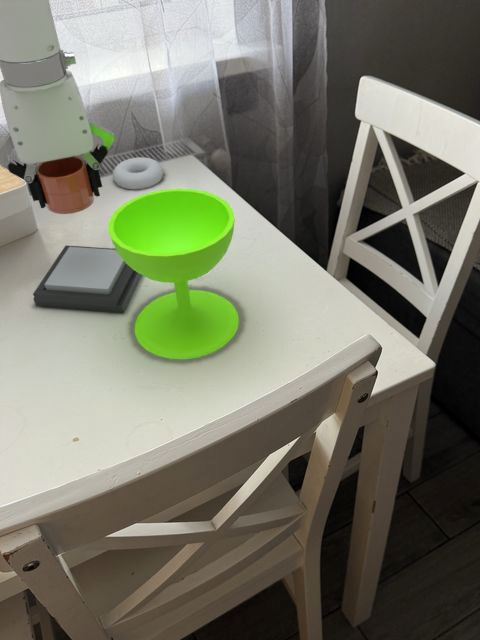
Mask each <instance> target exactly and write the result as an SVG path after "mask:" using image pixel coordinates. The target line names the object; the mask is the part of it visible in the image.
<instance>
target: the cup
mask: <svg viewBox="0 0 480 640" xmlns="http://www.w3.org/2000/svg"><path fill="white" fill-rule="evenodd" d="M86 164H87V162H86V161H85V160H84V159H83V158H82V157H81V156H74V157H69V158H64V159H59V160H54V161H48V162H43V163H38V164H37V167H36V171H35V174H36V176H37V179H38V182H39V185H40V188H41V191H42V195H43V198H44V201H45V204H46V208H47V210H48V211H50V212H51V213H54V214H58V215H70V214H77V213H80V212H82V211H84V210H86V209H88V208H89V207H91V206H92V205H93V203H94V202H95V195H94V193H93V190H92V186H91V182H90V178H89V173H88V169H87V165H86Z"/></svg>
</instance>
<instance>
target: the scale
mask: <svg viewBox="0 0 480 640" xmlns="http://www.w3.org/2000/svg"><path fill="white" fill-rule="evenodd" d="M69 247H80V248H95V249H111V250H116V249H115V248H113V247H112V248H109V247H97V246H96V247H95V246H94V247H93V246H80V245H64V247H63V248H62V250H61V252H60V253H59V254H58V256H57V257H56V259H55V260H54V261H53V263H52V265H51V266H50V268H49V269H48V270H47V272H46V274H45V275H44V277H43V278H42V280H41V282H40V283H39V284H38V286H37V287H36V288H35V290H34V291H33V293H32V296H33V298H32V299H33V303H34V304H35V307H38V308H39V307H42V308H54V309H66V310H79V311H90V312H91V311H92V312H103V313H116V314H117V313H118V314H124V313H125V311H126V310H127V307H128V305H129V304H130V301H131V299H132V297H133V295H134V292H135V291H136V289H137V286H138V284H139V282H140V280H141V278H142V276H143V275H141V274H139V273H138V272H136V271H134V270H133V269H132V268H131V267H130V266H129V265H127V264H126V266H125V268H124V270H123V272H122V274H121V276H120V277H119V279H118V281H117V283H116V285H115V287H114V289H113V291H112V293H111V295H106V294H93V293H79V292H66V291H52V290H46V287H45V283H46V281H47V280H48V278H49V277H50V275H51V274H52V272H53V271H54V269H55V268H56V266H57V265H58V263H59V262H60V260H61V259H62V257H63V256H64V254H65V253H66V251H67V250H68V248H69Z"/></svg>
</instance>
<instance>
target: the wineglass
mask: <svg viewBox="0 0 480 640" xmlns="http://www.w3.org/2000/svg"><path fill="white" fill-rule="evenodd" d="M235 218H236V216H235V214H234V209H233V208H232V206H231V205H230V203H228V201H226V200H225V199H223V198H221V197H220V196H219V195H216V194H214V193H211V192H208V191H205V190H200V189H193V188H169V189H159V190H156V191H155V190H154V191H152V192H147V193H144V194H141V195H138V196H136V197H134V198H132V199H129V200H128V201H127V202H125V203H123V204H122V205H120V206H119V207H118V208H117V209H116V210H115V211H114V212H113V213H112V215H111V217H110V218H109V221H108V227H107V232H108V234H109V236H110V239H111V242H112V244H113V247H114V249H116V251H117V253H118V254H119V255H120V256H121V258H122V259H123V260H124V261H125V263H126V264H127V265H129V266H130V267H131V268H132V269H133V270H134V271H136V272H138V273H139V274H141V275H142V276H143V277H145V278H147V279H149V280H151V281H155V282H160V283H169V284H173V285H174V291H173V292H170V293H167V294H163V295H161V296H159V297H157V298H156V299H154V300H152V301H151V302H149V303H148V304H147V305H145V306H144V307H143V308H142V310H141V311H140V313H138V315H137V318H136V319H135V321H134V336H135V338H136V340H137V343H138V344H139V345H141V347H143V349H145V351H147V352H149V353H151V354H153V355H154V356H157V357H161V358H165V359H170V360H189V359H197V358H200V357H204V356H207V355H210V354H213V353H215V352H216V351H218V350H220V349H221V348H223V347H225V346H226V345H227V344H228V343H229V342H230V341H231V340H232V339H233V337H234V336H235V335H236V332H237V331H238V328H239V324H240V318H239V314H238V311H237V308H235V306H234V304H233V303H231V302H230V301H229V300H228V299H226V298H225V297H224V296H222V295H219V294H217V293H214V292H211V291H206V290H202V289H201V290H198V289H190V287H189V281H191V280H196V279H198V278H200V277H202V276H204V275H206V274H208V273H209V272H210V271H212V270H213V269H214V268H216V266H217V265H218V264H219V263H220V262H221V261H222V259H223V258H224V256H225V255H226V254H227V251H228V249H229V247H230V244H231V242H232V240H233V237H234V236H233V235H234V231H235V230H234V229H235Z"/></svg>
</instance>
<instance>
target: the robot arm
mask: <svg viewBox="0 0 480 640" xmlns="http://www.w3.org/2000/svg"><path fill="white" fill-rule="evenodd" d="M71 65H77V62H76V57H75V52H73V51H71V52H68V51H64V50H63V49H61V45H60V41H59V37H58V34H57V29H56V25H55V21H54V17H53V13H52V8H51V4H50V0H0V72H1V75H2V78H3V79H2V80H1V81H0V101H1V105H2V110H3V114H4V117H5V121H6V124H7V129H8V134H7V135H6V136H5V138H4V139H3V140H2V142H1V143H0V167H2V168H4V169H5V170H7V171H8V172H9V173H11V174H12V175H14V176H16V177H18V178H19V179H22V180H23V181H24V182H25V183H26V184H27V185H28V189H29V191H30V195H31V197H32V200H33V202H38V203H39V206H40V209H45V208H47V206H46V204H45V201H44V198H43V195H42V191H41V188H40V185H39V182H38V179H37V176H36V167H37V166H38V164H39V163H43V162H48V161H54V160H59V159H64V158H69V157H74V156H77V157H81V158H82V159H84V160H85V161H86V165H87V169H88V173H89V178H90V182H91V186H92V190H93V195H94V197H96V198H98V197H101V194H100V190H99V188H103V183H102V179H101V175H100V171H99V169H100V167H101V164H102V162H103V161H104V160H105V158H106V157H107V155H108V153H109V152H108V151H109V150H110V149H111V147H112V145H113V144H114V142H115V139H116V136H115V135H114V133H113V132H112V131H111V130H109V129H107V128H106V127H104V126H102V125H100V124H99V123H97V122H94V121H93V120H92V119H89V118H88V115H87V111H86V107H85V105H84V102H83V98H82V96H81V93H80V89H79V86H78V84H77V82H76V80H75V77H74V74H72V71H70V70H68V68H69V67H71ZM93 135H94V136H95V137H98V138H100V140H99V143H97V145H96V146H94V145H95V144H94V139H93ZM13 150H14V152H15V154H16V156H17V159H18V160H19V161H20V162H18V161H16V160H14V159H11V158H10V157H9V156H10V153H12V151H13Z"/></svg>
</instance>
